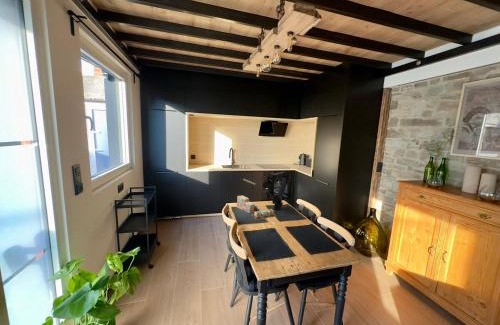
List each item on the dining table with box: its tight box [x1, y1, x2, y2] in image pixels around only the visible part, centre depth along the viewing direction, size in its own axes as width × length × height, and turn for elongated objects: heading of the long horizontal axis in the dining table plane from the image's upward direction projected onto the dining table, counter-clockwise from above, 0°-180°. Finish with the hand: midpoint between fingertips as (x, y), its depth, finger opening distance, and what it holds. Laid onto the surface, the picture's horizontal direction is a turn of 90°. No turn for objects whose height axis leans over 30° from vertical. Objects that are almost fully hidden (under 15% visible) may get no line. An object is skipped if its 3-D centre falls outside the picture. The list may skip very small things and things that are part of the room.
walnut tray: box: [251, 212, 277, 221], centre depth 189 cm, size 22×11×2 cm, turn 116°
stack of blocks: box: [236, 195, 256, 214], centre depth 202 cm, size 21×6×12 cm, turn 38°
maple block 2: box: [266, 208, 275, 215], centre depth 192 cm, size 4×4×4 cm
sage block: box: [260, 209, 267, 216], centre depth 189 cm, size 4×4×4 cm
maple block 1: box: [253, 210, 261, 217], centre depth 186 cm, size 4×4×4 cm
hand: (270, 202), depth 195 cm, fingers open, 9 cm apart
